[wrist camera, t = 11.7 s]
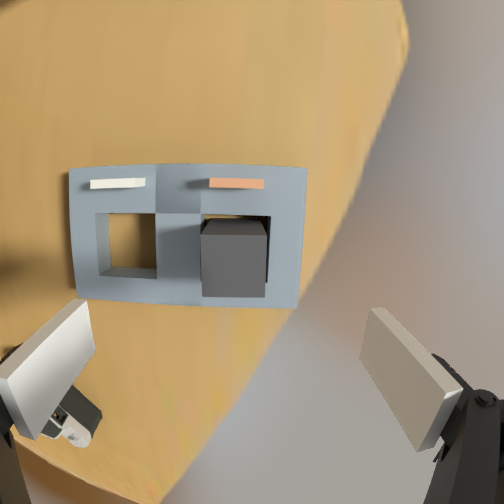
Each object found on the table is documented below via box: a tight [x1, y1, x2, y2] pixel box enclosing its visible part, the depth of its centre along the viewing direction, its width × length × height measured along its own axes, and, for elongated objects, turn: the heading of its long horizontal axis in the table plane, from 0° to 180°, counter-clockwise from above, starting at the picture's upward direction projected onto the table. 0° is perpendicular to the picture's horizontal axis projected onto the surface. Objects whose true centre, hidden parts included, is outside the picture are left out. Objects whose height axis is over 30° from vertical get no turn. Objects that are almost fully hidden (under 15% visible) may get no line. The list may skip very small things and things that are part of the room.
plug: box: [200, 218, 267, 298], centre depth 29 cm, size 5×5×10 cm
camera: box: [40, 385, 102, 448], centre depth 33 cm, size 16×9×10 cm, turn 39°
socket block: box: [69, 164, 307, 308], centre depth 30 cm, size 24×14×7 cm, turn 88°
